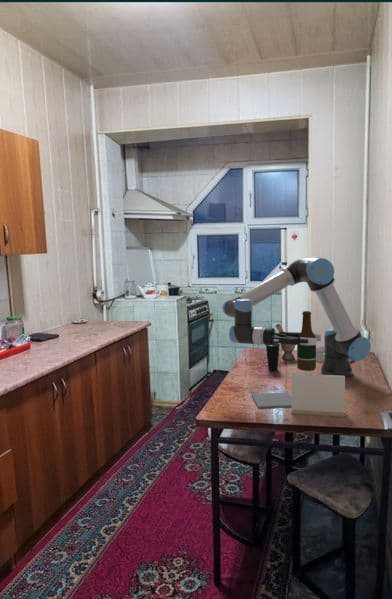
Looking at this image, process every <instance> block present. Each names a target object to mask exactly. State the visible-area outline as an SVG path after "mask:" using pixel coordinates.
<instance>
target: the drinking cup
mask: <svg viewBox="0 0 392 599" xmlns="http://www.w3.org/2000/svg"><path fill="white" fill-rule="evenodd" d="M265 348H266V349H265V350H266V358H267V369H268V371H271V372H273V371H278V367H279V356H280V348H281V343H274V345H272V346H271V345H265Z"/></svg>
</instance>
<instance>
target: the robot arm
mask: <svg viewBox="0 0 392 599" xmlns="http://www.w3.org/2000/svg"><path fill="white" fill-rule="evenodd" d="M334 274H335V267H334V265H333V263H332V262H331V261H330V260H328V259H326V258H324V257H320V256H317V257H310V256H309V257H308V256H307V257H301V258H299V259H297V260H294V261H292V262H291V263H289V264H288V265H285V266H284V267H282V268H281V271H279V272H278V273H277V274H275V275H274V276H271V277H270V278H268V279H267V280H265V281H262V282H261V283H259V284H258V285H256V286H254V287H253V288H250V289H249V290H247V291H246V292H244V293H242V294H241V295H239V296H236V297H235V298H233V299H227V300H226V301H224V303H223V304H222V309H221V310H222V312H223V313H224V315H225V316H227V317H230V318H234V325H232V326H231V327H230V329H229V333H228V334H229V336H228V337H229V340H230V342H231V343H236V344H239V345H240V344H245V345H246V344H248V345H257V346H258V347H259V346H260V345H261V346H264V345H265V346H266V345H271V346H272V345H274V343H278V344H281V343H282V344H292V345H295V346H296V347H297V346H300V344H306V345H316V346H317V345H318V342H321V341H322V335H321V334H315V333H314V335H315V337H316V338H305V337H300V338H298V336H299V334H300V332H295V331H294V332H293V331H292V332H290V331H289V332H288V331H284V332H279V331H278V332H276V329H275V328H274V327H261V326H253V322H252V320H253V307H254V306H255V307H256V305H259V304H260V303H261V302H263V301H265V300H267V299H268V298H270V297H272V296H274V295H275V294H277V293H279V292H281V291H282V290H284V289H286V288H287V287H289V286H290V287H293V286H295V285H297V284H300V283H306V284H307V285H308V288H309V290H310V291H311V292H313V293H315V294H316V295H317V298H318V300H319V302H320V304H321V306H322V308H323V310H324V312H325V314H326V316H327V318H328V320H329V322H330V324H331V326H332V328H328V329H326V330H325V331H324V336H323V337H324V347H325V358H324V361H323V362H322V364H321V368H320V373H321V375H341V376H345V378H347V377H350V376H352V375H353V368H352V364H351V361H350V362H349V359H351V360H352V361H356V362H360V361H364V360H365V359H366V358H367V357H368V356H369V355H370V352H371V349H372V348H371V342H370V340H369V339H368V338H367V337H365V336H363V335H362V333H361V331H360V329H359V327H356V326H354V325H353V322H352V320H351V318H350V316H349V314H348V312H347V311H346V310H347V309H346V308H345V306H344V304H343V302H342V299H341V298H340V295H339V294H338V292H337V289H336V288H335V285H334V283H335V281H336V280H335V277H334V276H335V275H334Z"/></svg>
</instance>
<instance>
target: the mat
mask: <svg viewBox="0 0 392 599" xmlns="http://www.w3.org/2000/svg"><path fill="white" fill-rule="evenodd" d="M251 396H252V398H253V401H254V402H255V404H256V407H257V409H274V408H292V395H291V394H290V393H289V392H265V393H252V394H251Z"/></svg>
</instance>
